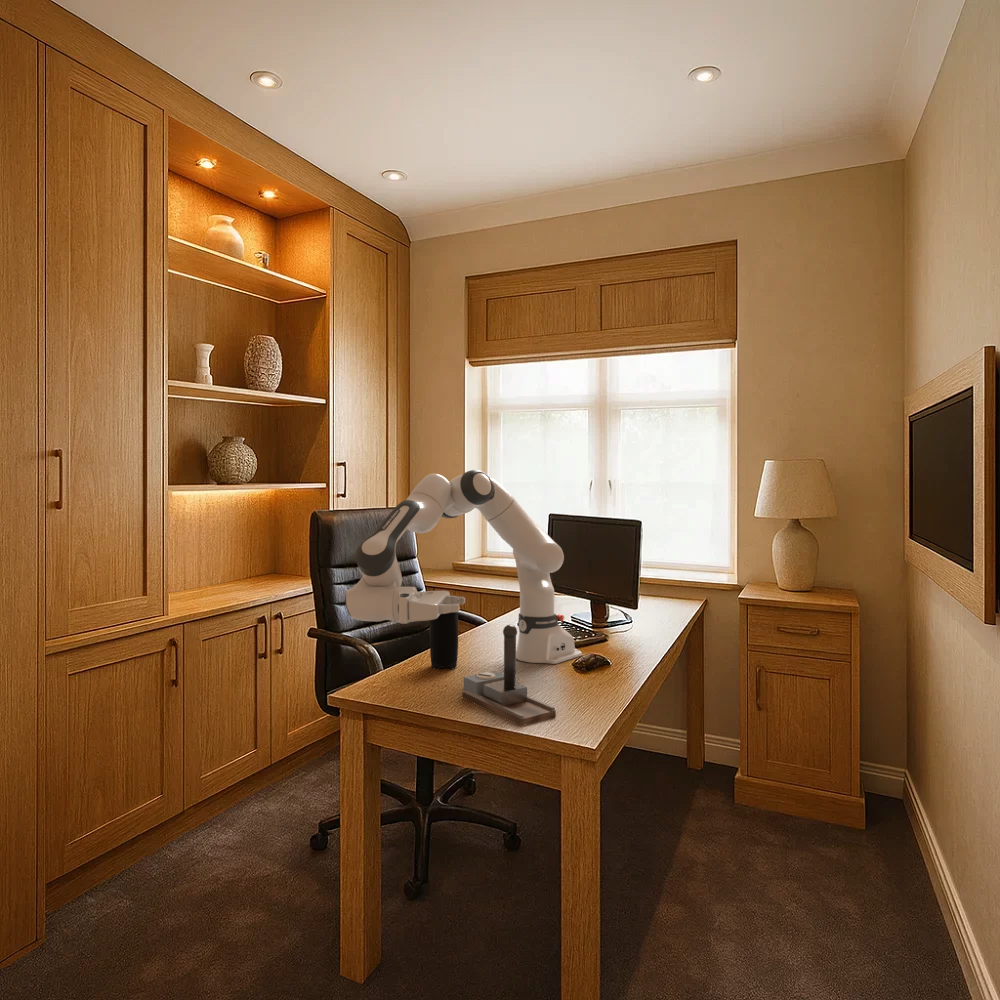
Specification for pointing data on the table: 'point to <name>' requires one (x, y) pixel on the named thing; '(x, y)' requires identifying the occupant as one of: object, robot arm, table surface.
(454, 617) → the portable speaker
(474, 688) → the gauge cabinet
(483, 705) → the rail board
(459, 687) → the table surface
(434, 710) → the table surface
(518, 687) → the carriage
